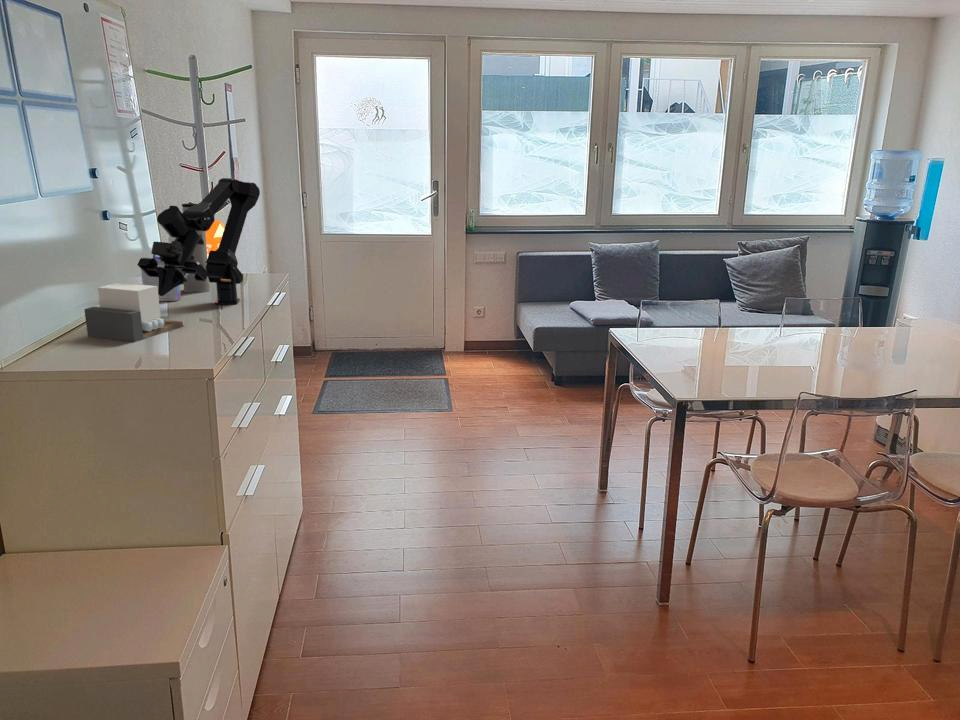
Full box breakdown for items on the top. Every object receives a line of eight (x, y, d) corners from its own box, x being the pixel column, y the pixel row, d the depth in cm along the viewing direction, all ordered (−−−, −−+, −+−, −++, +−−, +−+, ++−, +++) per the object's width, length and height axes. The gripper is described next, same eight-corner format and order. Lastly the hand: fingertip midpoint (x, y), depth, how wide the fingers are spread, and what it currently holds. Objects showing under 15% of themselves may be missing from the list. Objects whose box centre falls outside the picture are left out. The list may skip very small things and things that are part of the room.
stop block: (96, 333, 189) (93, 306, 187) (143, 339, 185) (140, 311, 184) (87, 336, 187) (84, 309, 185) (134, 341, 183) (131, 313, 181)
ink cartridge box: (181, 297, 234) (177, 251, 230) (178, 301, 229) (173, 254, 225) (148, 298, 232) (143, 251, 228) (143, 301, 227) (138, 254, 223)
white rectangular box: (118, 321, 196) (114, 282, 193) (165, 326, 192) (161, 286, 190) (98, 327, 190) (93, 287, 187) (146, 332, 186) (142, 291, 183)
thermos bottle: (199, 287, 251) (192, 202, 244) (215, 290, 247) (208, 203, 239) (179, 290, 245) (171, 203, 237) (194, 293, 241) (187, 204, 233)
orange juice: (216, 273, 278) (212, 218, 273) (233, 275, 274) (229, 220, 268) (199, 276, 272) (195, 220, 266) (216, 278, 267) (212, 222, 262)
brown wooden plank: (139, 321, 203) (138, 317, 203) (182, 325, 199) (182, 321, 199) (87, 336, 187) (87, 331, 186) (134, 341, 183) (134, 337, 182)
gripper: (137, 227, 202) (113, 275, 196) (197, 231, 197) (173, 280, 191) (160, 252, 212) (137, 298, 205) (217, 256, 207) (196, 304, 200)
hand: (160, 295), depth 200 cm, fingers closed
